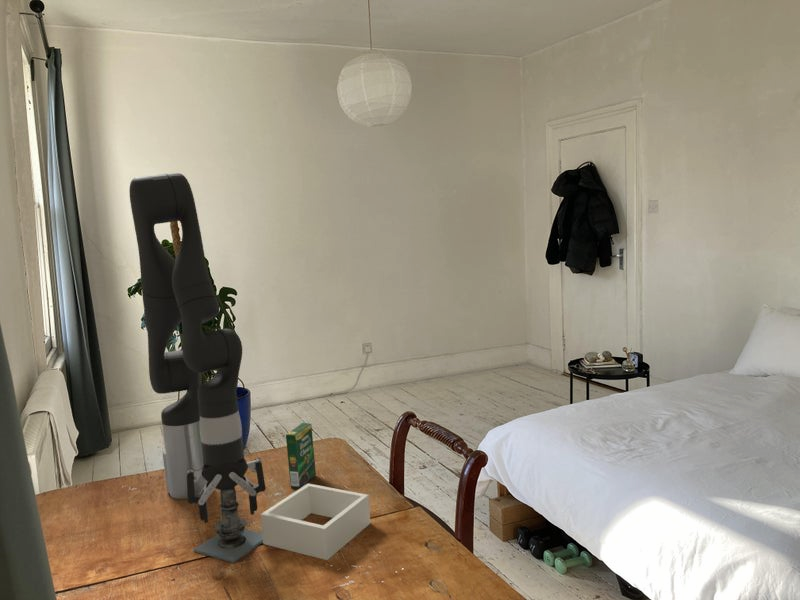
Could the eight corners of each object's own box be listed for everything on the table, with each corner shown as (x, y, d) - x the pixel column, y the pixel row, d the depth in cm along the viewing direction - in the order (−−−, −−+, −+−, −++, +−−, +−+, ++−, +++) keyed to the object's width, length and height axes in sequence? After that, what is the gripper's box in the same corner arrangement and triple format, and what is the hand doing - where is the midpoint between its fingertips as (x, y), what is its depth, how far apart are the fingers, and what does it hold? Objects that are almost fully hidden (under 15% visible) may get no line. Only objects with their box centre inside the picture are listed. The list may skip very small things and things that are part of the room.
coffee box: (300, 489, 148) (295, 434, 146) (289, 488, 149) (284, 433, 147) (317, 475, 155) (312, 422, 153) (306, 474, 156) (302, 422, 154)
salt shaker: (239, 550, 121) (234, 489, 119) (210, 548, 122) (205, 487, 121) (252, 535, 127) (248, 476, 125) (225, 533, 128) (220, 475, 126)
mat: (194, 551, 123) (193, 549, 122) (231, 527, 131) (231, 525, 131) (233, 562, 118) (233, 560, 118) (269, 537, 126) (269, 534, 126)
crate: (263, 543, 124) (260, 514, 123) (310, 510, 137) (307, 483, 136) (327, 560, 117) (324, 529, 116) (370, 523, 130) (368, 494, 129)
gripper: (180, 448, 116) (190, 533, 118) (261, 436, 120) (269, 518, 122) (182, 435, 123) (191, 515, 125) (258, 424, 127) (265, 502, 129)
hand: (229, 517), depth 124 cm, fingers open, 8 cm apart
